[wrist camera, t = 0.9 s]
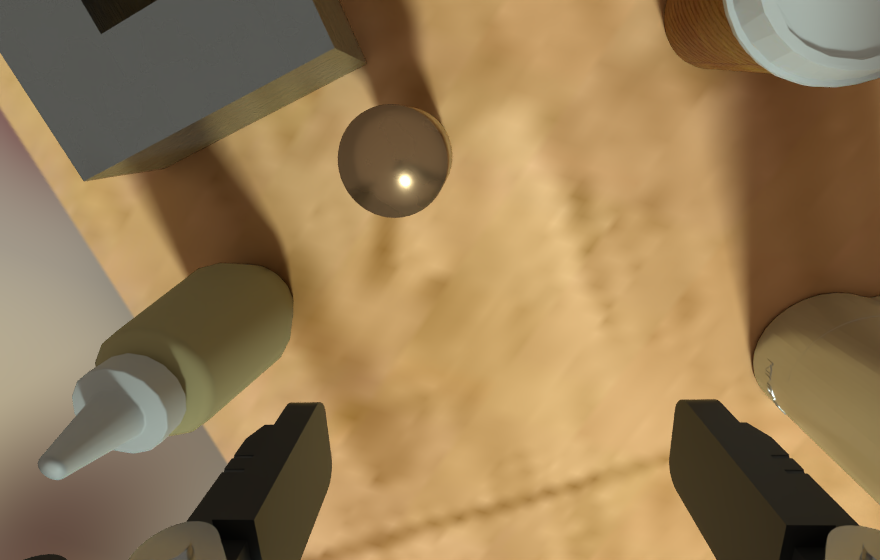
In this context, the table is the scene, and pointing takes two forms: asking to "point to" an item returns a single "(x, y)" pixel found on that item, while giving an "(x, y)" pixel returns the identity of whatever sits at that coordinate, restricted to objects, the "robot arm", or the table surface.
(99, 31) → the block
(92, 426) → the squeeze bottle
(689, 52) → the disposable coffee cup
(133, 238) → the table surface
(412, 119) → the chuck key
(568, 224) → the table surface
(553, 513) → the table surface
